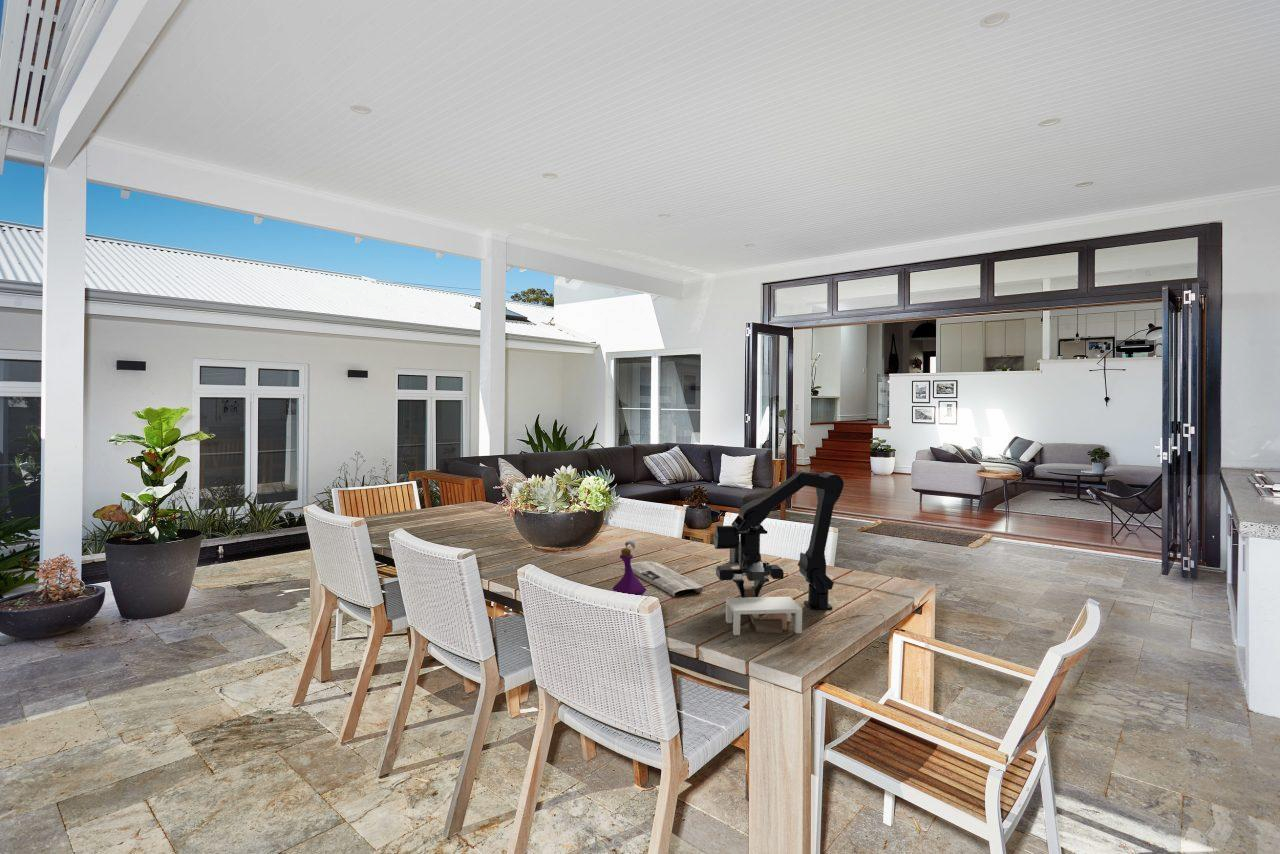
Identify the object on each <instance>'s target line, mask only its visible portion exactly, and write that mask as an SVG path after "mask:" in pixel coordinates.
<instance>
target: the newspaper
mask: <svg viewBox="0 0 1280 854" xmlns="http://www.w3.org/2000/svg"><path fill="white" fill-rule="evenodd" d="M630 563H631V562H630ZM631 567H632V570H633V573H634V575H635V576H636V577H637V578H641V579H642V580H644V581H645V580H646V582H647V583H648V584H651V585H652V584H653V586H654V585H655V586H654V587H656V586H657V587H659V588H661V589H663V590H664V591H666V592H668V593H670V594H671V595H673V596H674V597H676V596H675V595H676V593H678V592H680V591H685V590H691V589H692V591H694V592H696V593H701V592H702V591H703V587H705V586H706V583H704V582H702V581H698V580H696V579H693V578H690V577H687V576H685V575H684V574H683V575H682V574H680V573H678V572H676V571H675V570H673V569H671V568H669V567H668V566H666V565H663V563H660V562H659V561H657V562H653V561H651V560H648V561H636V562H633V563H631ZM657 587H656V588H657ZM659 588H658V589H659ZM661 589H660V590H661ZM663 590H662V591H663ZM664 591H663V592H664ZM666 592H665V593H666ZM668 593H667V594H668ZM670 594H669V595H670ZM671 595H670V596H671ZM673 596H672V597H673Z"/></svg>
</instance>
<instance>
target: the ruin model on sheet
mask: <svg viewBox="0 0 1280 854" xmlns="http://www.w3.org/2000/svg"><path fill="white" fill-rule="evenodd" d="M739 550H740V542H739V545H738V547H736V548H735V549H729V563H731V564H734V565H735V562H738V564H739V563H740V553H739Z"/></svg>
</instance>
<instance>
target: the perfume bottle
mask: <svg viewBox="0 0 1280 854" xmlns="http://www.w3.org/2000/svg"><path fill="white" fill-rule="evenodd" d="M624 545H625V548H623V549H621V551H620V552H621V554H620V555H619V559H621V560H622V561H623V564H624V574H623V576H622V577H621V579H620V580H619V581H618V582H617V583H616V584H615V585H614V586H613V587H612V588H611V589H612V591H613V592H614V591H617V592H622V593H628V594H635V595H642V596H643V595H644V593H646V592H647V588H646V587H645V586H644V584H643V583H642V582H641V581H640V580H639V578H638V576H637V575H635V574H634V573H633V570H632V567H631V560H632V559H633V558H634V556H633V554H632V553H631V552H632V550H631V549H630V548H628V546H629V545H630V547H632V549H633V550H635V548H636V541H635V540H629V541H626V542H625V543H624Z"/></svg>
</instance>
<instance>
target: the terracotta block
mask: <svg viewBox="0 0 1280 854" xmlns="http://www.w3.org/2000/svg"><path fill="white" fill-rule="evenodd" d="M767 619H781V620H782V631H783V630H788V622H787V614H786V613H770V614H767Z"/></svg>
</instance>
